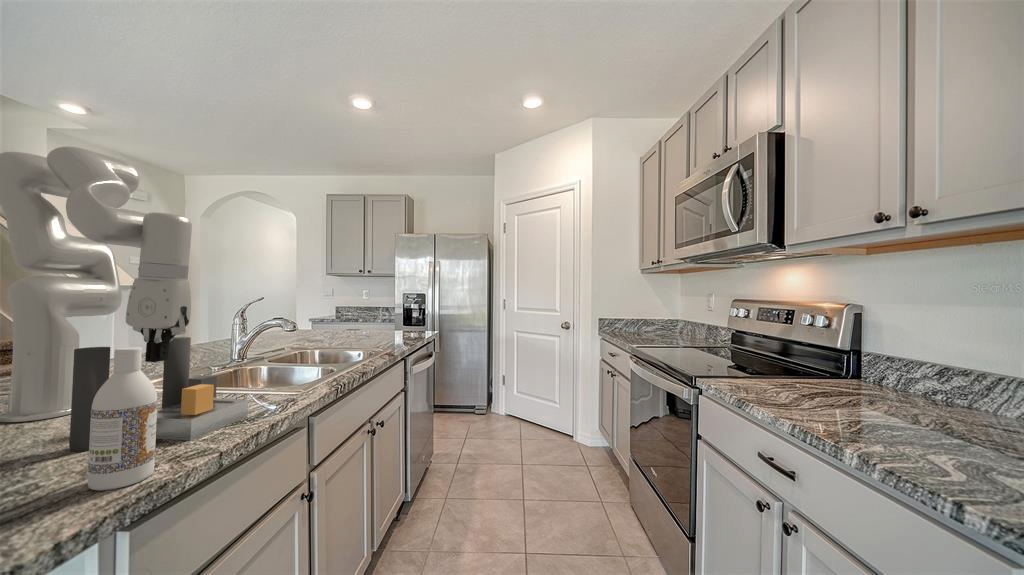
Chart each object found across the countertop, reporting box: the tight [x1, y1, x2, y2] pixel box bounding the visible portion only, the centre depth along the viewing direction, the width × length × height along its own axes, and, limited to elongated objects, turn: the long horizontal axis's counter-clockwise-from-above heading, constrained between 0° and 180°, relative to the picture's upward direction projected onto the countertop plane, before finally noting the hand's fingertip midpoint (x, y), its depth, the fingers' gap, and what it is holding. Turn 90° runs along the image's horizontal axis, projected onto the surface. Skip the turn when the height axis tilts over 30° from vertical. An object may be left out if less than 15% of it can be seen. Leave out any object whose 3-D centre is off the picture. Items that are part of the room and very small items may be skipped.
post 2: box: [161, 336, 192, 409], centre depth 84 cm, size 4×4×18 cm
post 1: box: [68, 346, 111, 453], centre depth 67 cm, size 4×4×18 cm
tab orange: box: [181, 384, 214, 415], centre depth 75 cm, size 3×4×5 cm
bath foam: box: [87, 346, 158, 491], centre depth 56 cm, size 7×7×20 cm
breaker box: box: [156, 397, 249, 441], centre depth 78 cm, size 12×14×4 cm
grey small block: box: [188, 374, 218, 398], centre depth 83 cm, size 3×4×5 cm
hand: (156, 360), depth 76 cm, fingers closed
